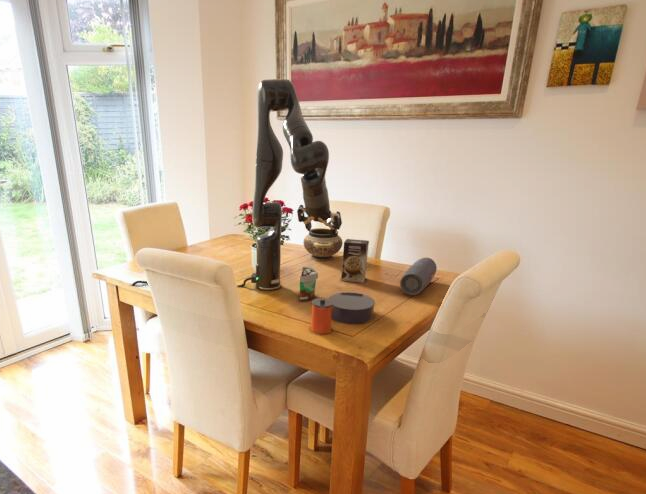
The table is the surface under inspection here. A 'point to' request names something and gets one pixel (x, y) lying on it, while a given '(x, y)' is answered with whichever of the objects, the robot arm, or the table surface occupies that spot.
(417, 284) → the bluetooth speaker
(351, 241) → the coffee box
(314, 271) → the food container
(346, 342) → the table surface
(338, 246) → the ceramic bowl
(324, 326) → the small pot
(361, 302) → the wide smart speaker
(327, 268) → the table surface
